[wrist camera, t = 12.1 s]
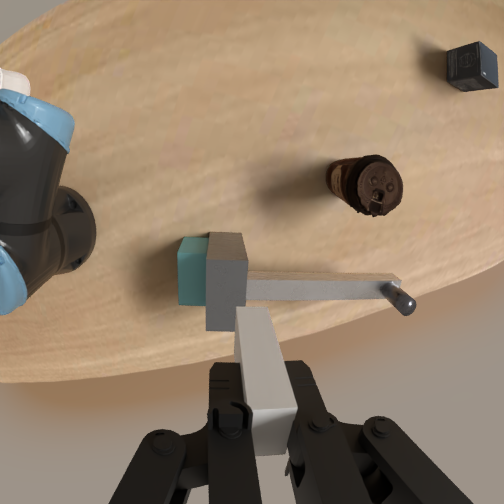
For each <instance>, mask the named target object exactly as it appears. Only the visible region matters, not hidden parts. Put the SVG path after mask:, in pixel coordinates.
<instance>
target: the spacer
mask: <svg viewBox="0 0 504 504" xmlns="http://www.w3.org/2000/svg"><path fill="white" fill-rule="evenodd" d="M208 243H209V238H201V237H184V239H183V241H182V243H181V245H180V248H179V250H178V252H177V259H178V297H179V305H191V306H206V257H207V250H208Z"/></svg>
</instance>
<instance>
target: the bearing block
mask: <svg viewBox="0 0 504 504" xmlns="http://www.w3.org/2000/svg"><path fill="white" fill-rule="evenodd" d="M247 274H248V257H247V253H246V249H245V245H244V241H243V237H242V233H228V232H210V236H209V243H208V250H207V257H206V331H230V332H235V320H236V306H240V307H245V304H246V289H247Z"/></svg>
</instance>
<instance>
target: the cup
mask: <svg viewBox="0 0 504 504" xmlns="http://www.w3.org/2000/svg"><path fill="white" fill-rule="evenodd" d="M2 88H3V89H9V90H13V91H16V92H19V93H21V94H25V95H26V96H30V82H29V80H28V79H27V77H26V76H25V75H23V74H21V73H18V72H14V71H8V70H4V69H2V68H0V89H2Z"/></svg>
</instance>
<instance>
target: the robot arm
mask: <svg viewBox="0 0 504 504" xmlns="http://www.w3.org/2000/svg"><path fill="white" fill-rule="evenodd" d="M74 125H75V124H74V119H73V117H72V116H71V115H70V114H69V113H68V112H66V111H65V110H63V109H61V108H59V107H56V106H54V105H52V104H49V103H47V102H44V101H42V100H39V99H37V98H34V97H31V96H26V95H25V94H21V93H19V92H16V91H13V90H9V89H3V88H2V89H0V315H6V314H9V313H11V312H12V311H13V310H15V309H16V308H17V307H19V306H22V305H23V304H24V303H25V302H26V300H27V299H28V298H29V297H30V296H31V295H32V294H33V293H35V292H36V291H37V290H38V289H39V288H40V287H41V286H42V285H43V284H44V283H45V282H47V281H48V280H49V279H50V278H51V277H52V276H53V275H58V274H64V273H69V272H72V271H74V270H76V269H77V268H79V267H80V266H81V265H82V264H83V263H84V262H85V261H86V260H87V259H88V258H89V256H90V255H91V253H92V251H93V249H94V245H95V241H96V224H95V219H94V216H93V213H92V211H91V209H90V207H89V205H88V203H87V202H86V201H85V199H84V198H83V197H82V196H81V195H80V194H79V193H77V192H76V191H75V190H73V189H71V188H68V187H65V186H59V182H60V178H61V174H62V170H63V166H64V163H65V159H66V155H67V154H69V152H70V149H69V145H70V142H71V138H72V134H73V131H74ZM234 358H235V363H222V362H216V363H214V365H213V366H212V368H211V369H210V373H209V409H208V413H207V416H208V417H207V418H208V422H207V423H206V425H205V426H204V427H203V428H202V429H201V430H199V431H197V432H194V433H191V434H186V435H181V436H180V435H179V434H178V433H176V432H174V431H171V430H165V429H160V430H154V431H152V432H150V433H148V434H147V435H146V436H145V437H144V438H143V440H142V442H141V444H140V445H139V448H138V449H137V451H136V453H135V455H134V457H133V458H132V460H131V462H130V464H129V466H128V468H127V470H126V472H125V474H124V475H123V478H122V480H121V481H120V483H119V485H118V487H117V489H116V491H115V492H114V494H113V496H112V498H111V500H110V502H109V504H186V503H187V500H188V497H189V494H190V491H191V489H192V488H196V487H200V486H204V485H208V484H209V504H262V500H261V493H260V487H259V480H258V473H257V467H256V459H255V456H268V455H280V454H281V455H282V454H285V453H286V450H287V448H288V451H289V456H290V457H289V461H288V463H287V466H286V470H285V476H287V475H288V474H289V473H290V478H291V483H292V487H293V491H294V495H295V500H296V504H473V503H472V502H471V500H470V499H468V497H467V496H466V495H464V493H462V491H460V490H459V488H458V487H457V486H456V485H455V484H454V483H453V482H452V481H451V480H450V479H449V478H448V477H447V476H446V475H445V474H444V473H443V472H442V471H441V470H440V469H439V468H438V467H437V466H436V465H435V464H434V463H433V462H432V460H431V459H430V458H428V456H427V455H426V454H425V453H424V452H423V451H422V450H421V449H420V448H419V447H418V446H417V445H416V444H415V443H414V442H413V441H412V440H411V439H410V438H409V437H408V435H407V434H405V432H404V431H403V430H402V429H401V428H400V427H399V426H398V425H397V424H396V423H395V422H394V421H392V420H391V419H389V418H386V417H384V416H383V417H381V416H375V417H371V418H369V419H368V420H366V421H365V423H364V425H357V424H347V423H342V422H340V421H338V420H337V418H336V417H335V416H334V415H332V414H331V413H328V412H327V410H326V407H325V405H324V402H323V400H322V397H321V395H320V392H319V390H318V387H317V385H316V382H315V380H314V378H313V375H312V372H311V370H310V368H309V367H308V366H307V365H306V364H305V363H304V362H303V361H302V360H299V361H283V357H282V354H281V350H280V347H279V343H278V340H277V337H276V333H275V330H274V327H273V323H272V320H271V317H270V313H269V310H268V307H240V306H236V320H235V341H234Z"/></svg>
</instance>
